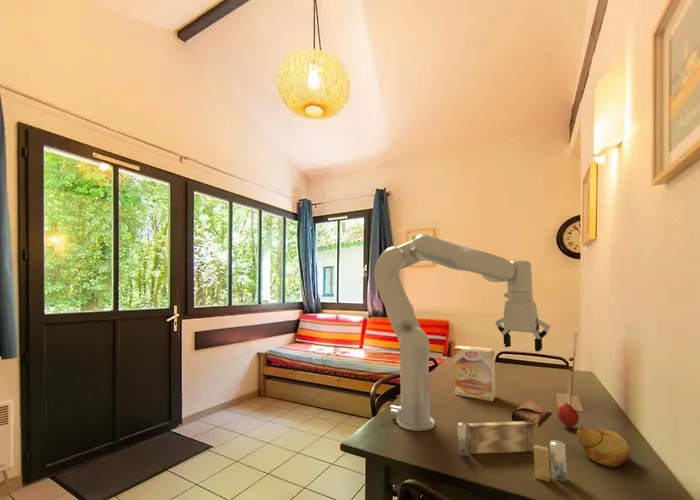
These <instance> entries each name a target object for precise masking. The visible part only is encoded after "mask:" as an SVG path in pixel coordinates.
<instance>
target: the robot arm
mask: <svg viewBox="0 0 700 500" xmlns="http://www.w3.org/2000/svg"><path fill="white" fill-rule="evenodd" d="M424 260H425V261H428V262H431V263H434V264H437V265H440V266H443V267H446V268H448V269H451V270H455V271H463V272H464V271H465V272H471V273H475V274H478V275H481V276H482V278H484V279H485V280H486V281H487V282H490V283H503V282H507V283H506V284H507V286H506V287H507V292H506V293H505V292H504V294H503V297H504V298H506V299H507V300H505V301H504V306H503V307H504V308H503V317H502V318H499V319H497V320H495V322H494V323H495V325H496V327H497V329H498V331H499V332H500V333H501V335H502V337H503V344H504V348H509V347H511V345H512V344H511V343H512V340H511V339H512V338H511V337H512V336H511V334H510V333H511V332H520V333H521V332H522V333H532V334H533V336H534V337H535V338H534V351H535V352H536V353H538V352H541V351H542V349H543V338H544V337H546V335H548V333H549V331H550V329H551V325H549V324H548V323H547V322H544V321H542V320H540V319H539V313H538V307H537V305H536V301H534V297H533V295H534V294H533V277H532V276H533V275H532V264H531V262H530V261H529V260H508V259H506V258H504V257H501V256H499V255H496V254H493V253H490V252H486V251H481V250H478V249H475V248H470V247H467V246H463V245H459V244H457V243H452V242H449V241H446V240H445V239H444V240H443V239H440V238H438V237H435V236H431V235H429V234H423V233H422V234H418V235H416V237H414V238H413V239H412V240H410V241H408V242H406V243H403V244H401V245H398V246H391V247H388V248H387V247H386V249H385V250H384V251H383V252H381V254H380V256H379V257H378V258H377V261H376V263H375V265H374V266H375V267H374V276H373V277H374V281H375V282H374V283H375V285H376V288H377V291H378V293H379V296H380V298H381V301H382V303H383V305H384V308H385V312H386V315H387V318H388V321H389V323H390V324H391V327H392V329H393V332H394V334H395V335H396V338H397V341H398V343H399V352H400V353H399V355H400V358H399V374H400V375H399V377H400V378H399V380H400V405H399V406H397V405H392V404H391V405H390V407H389V411H390V414H391V415H397V417H396V424H397V425H398V426H399V427H400V428H403V429H404V430H408V431H413V432H425V431H430V430H432V429H434V427H435V426H436V422H435V419H434V418H433V417H431V413H430V412H431V411H430V410H431V409H430V407H431V405H430V403H431V402H430V374H429V370H430V369H429V368H430V366H429V365H430V363H429V362H430V361H429V357H430V341H429V338H428V335H427V333H426V332H425V331H424V330H423V329H422V328H421V326H420V323H419V321H418V319H417V316H416V314H415V309H414V306H413V304H412V303H411V301H410V299H409V297H408V295H407V293H406V291H405V289H404V286H403V284H402V280H401V278H400V271H402V270H403V269H405V268H408V267H410V266H413V265H415V264H418V263H419V262H422V261H424ZM502 323H503V325H502ZM540 326H541V327H543V330H542V331H541V332H540Z"/></svg>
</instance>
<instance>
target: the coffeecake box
mask: <svg viewBox="0 0 700 500" xmlns="http://www.w3.org/2000/svg"><path fill="white" fill-rule="evenodd" d="M453 358H454V359H453V361H454V367H453V368H454V394H455V395H457V396H462V397H468V398H473V399H479V400H483V401H491V402H493V401H494V399H495V398H496V397H497V396H496V395H497V394H496V393H497V392H496V391H497V390H496V371H495V366H496V365H495V349H494V348H488V347H487V348H485V347H478V346H467V345H457V346H454V348H453Z"/></svg>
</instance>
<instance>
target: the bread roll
mask: <svg viewBox="0 0 700 500" xmlns="http://www.w3.org/2000/svg"><path fill="white" fill-rule="evenodd" d="M576 438H577V440H578V442H579V444H580V446H582V447H583V448H582V449H583V450H584V451H583V452H584V453H585V455H586V456H587V458H589V460H591V461H592V462H595V463H597V464H599V465H603V466H606V467H613V468H614V467H618V466H620V465H622V464H623V463H626V462H627V461H628V460H629V458H630V453H631V452H630V446H629V444H628V443H627V441H626V440H625V439H624V437H622V436H621V434H619V433H617V432H616V431H613V430H610V429H605V428H597V429H592V428H589V427H587V426H581V427H579V428H578V429H577V431H576Z"/></svg>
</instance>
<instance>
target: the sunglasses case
mask: <svg viewBox="0 0 700 500" xmlns="http://www.w3.org/2000/svg"><path fill="white" fill-rule="evenodd" d="M550 413H551V414H552V412H551V411H550V410H548V409H547V408H545V407H543V406H541V405H539V404H538V403H536V402H534V401H533V400H532V399H531V398H530V399H528V400H526V401H525V402H524V403H522V404H521V405H520V406H518V408H516V409H515V410H514V411H512V414H511V420H512V422H519V421H529V422H531V423H532V424H533V427H536V426H538V427H540V422H541V423H542V422H543V421H544V420H545V418H547V416H549V415H551V414H550Z"/></svg>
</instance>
